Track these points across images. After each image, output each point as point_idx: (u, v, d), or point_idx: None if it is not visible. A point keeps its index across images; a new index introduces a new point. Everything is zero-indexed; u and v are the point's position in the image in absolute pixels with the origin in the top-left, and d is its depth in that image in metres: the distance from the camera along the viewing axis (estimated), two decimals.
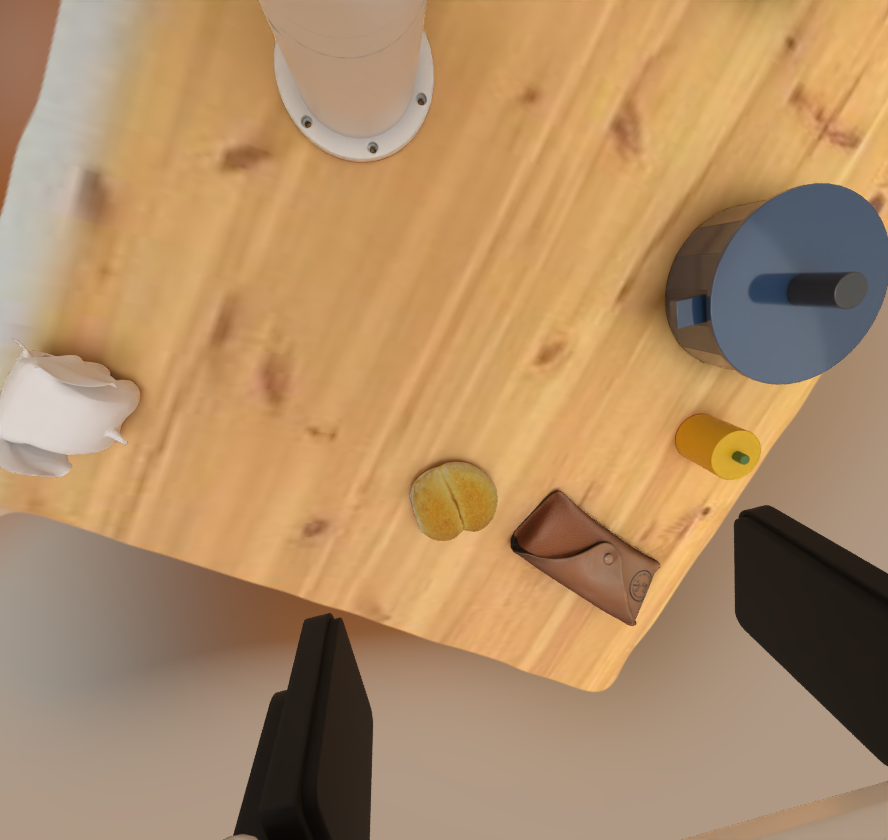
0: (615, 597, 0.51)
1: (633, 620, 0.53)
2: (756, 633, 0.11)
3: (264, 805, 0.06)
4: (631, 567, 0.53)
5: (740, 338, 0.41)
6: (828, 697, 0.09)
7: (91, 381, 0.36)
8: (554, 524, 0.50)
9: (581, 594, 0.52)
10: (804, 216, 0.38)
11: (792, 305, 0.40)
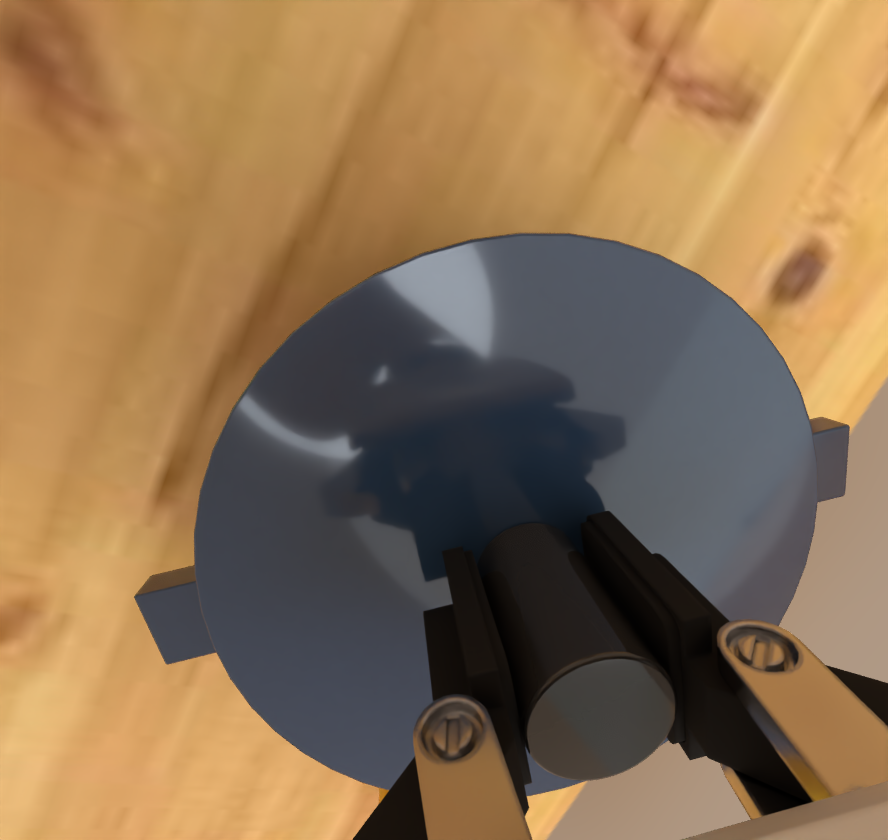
0: None
1: None
2: None
3: (472, 671, 0.08)
4: None
5: (345, 708, 0.13)
6: None
7: None
8: None
9: None
10: (493, 349, 0.11)
11: None
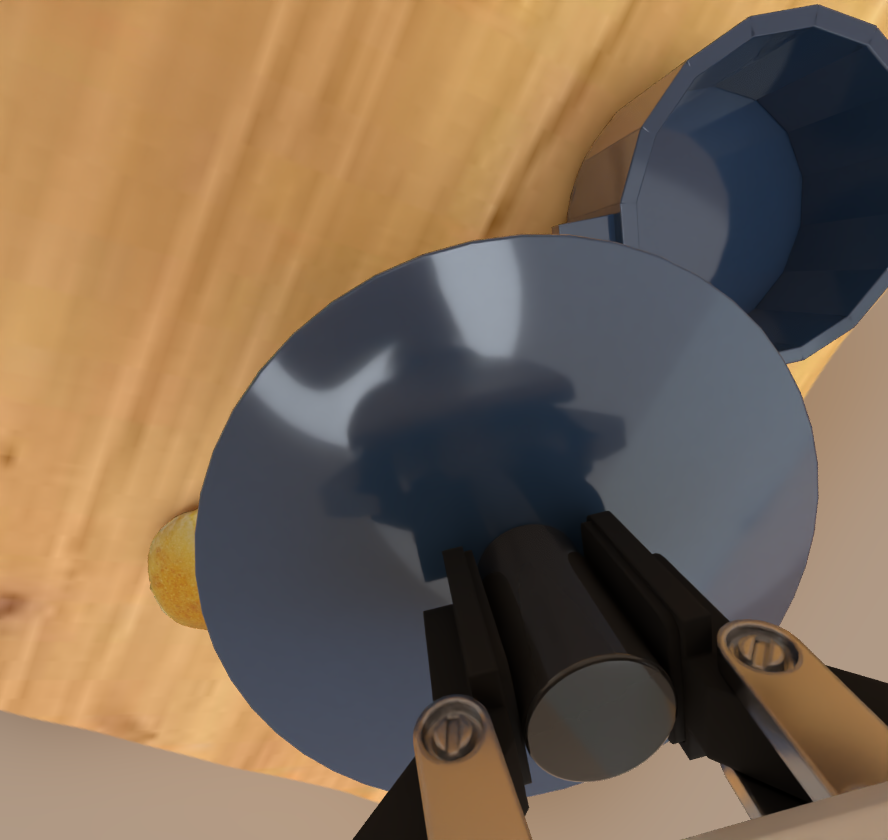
0: None
1: None
2: None
3: (472, 671, 0.08)
4: None
5: (346, 710, 0.13)
6: None
7: None
8: None
9: None
10: (494, 351, 0.11)
11: None
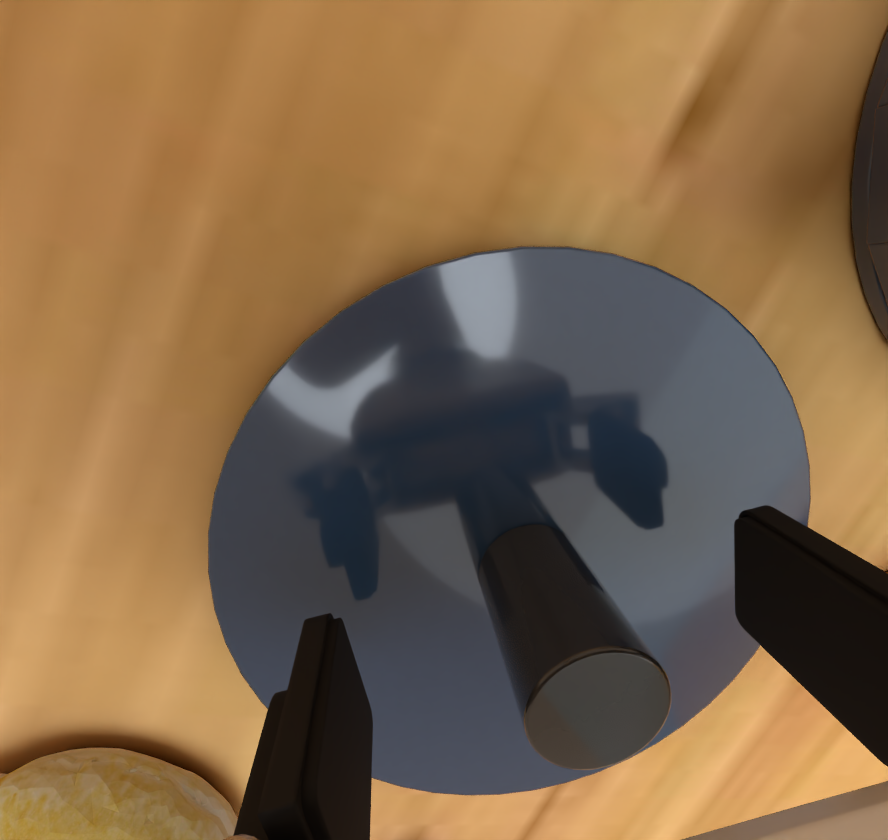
0: None
1: None
2: (756, 633, 0.11)
3: (265, 805, 0.06)
4: None
5: None
6: (828, 697, 0.09)
7: None
8: None
9: None
10: (495, 357, 0.11)
11: None
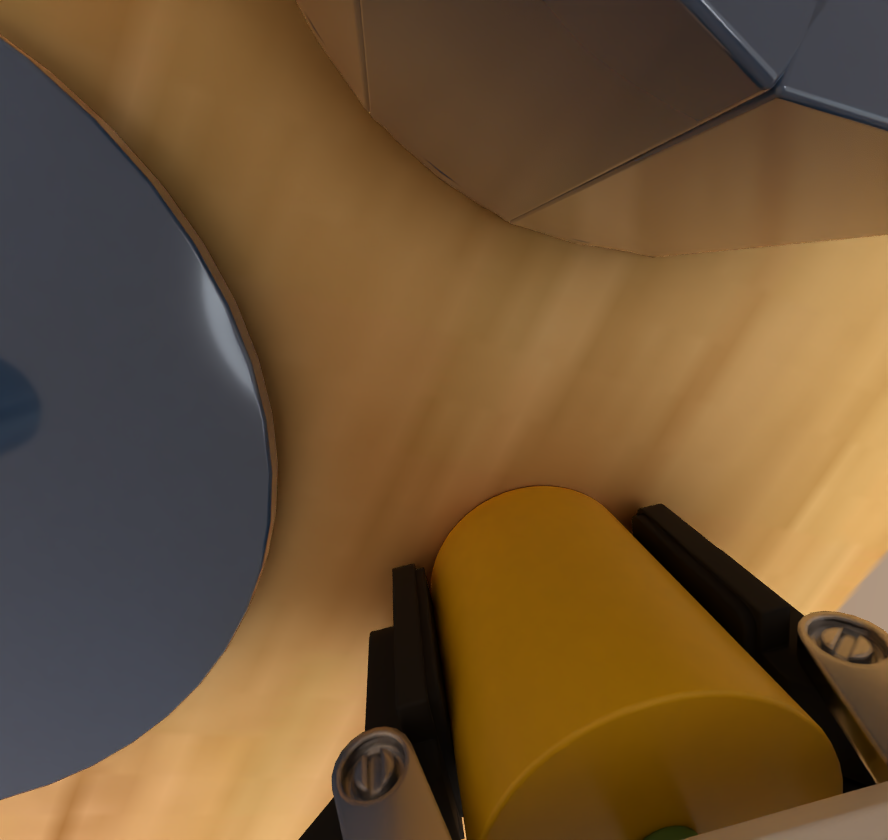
0: None
1: None
2: None
3: (400, 702, 0.07)
4: None
5: None
6: None
7: None
8: None
9: None
10: None
11: None
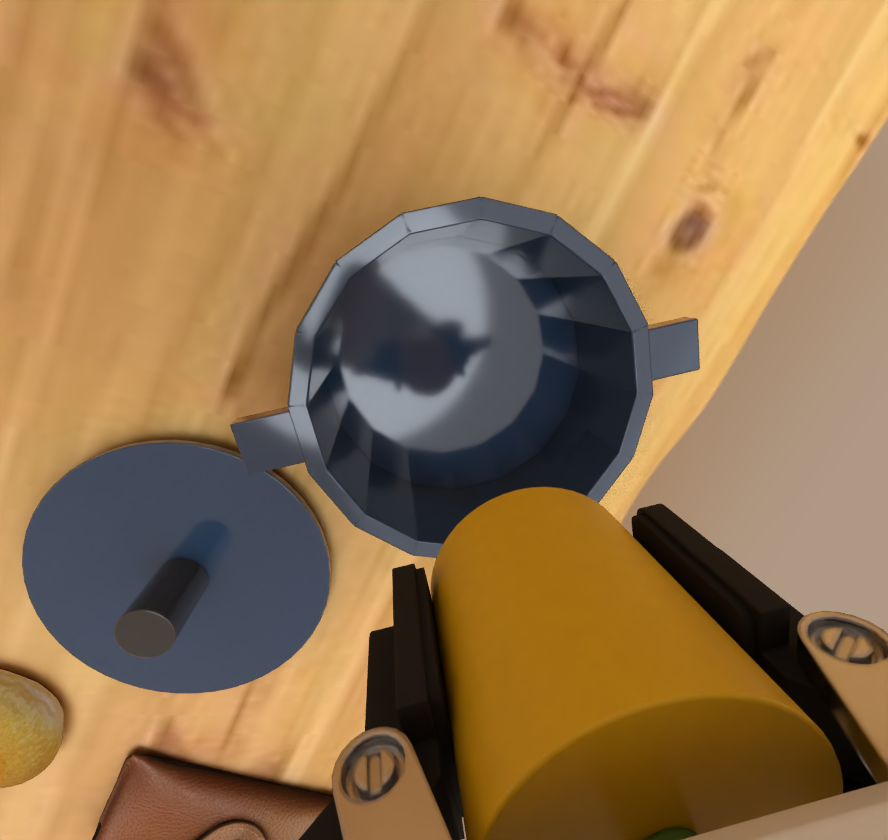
0: None
1: None
2: None
3: (400, 702, 0.07)
4: (297, 839, 0.32)
5: (105, 644, 0.28)
6: None
7: None
8: (124, 819, 0.30)
9: None
10: (144, 487, 0.25)
11: None
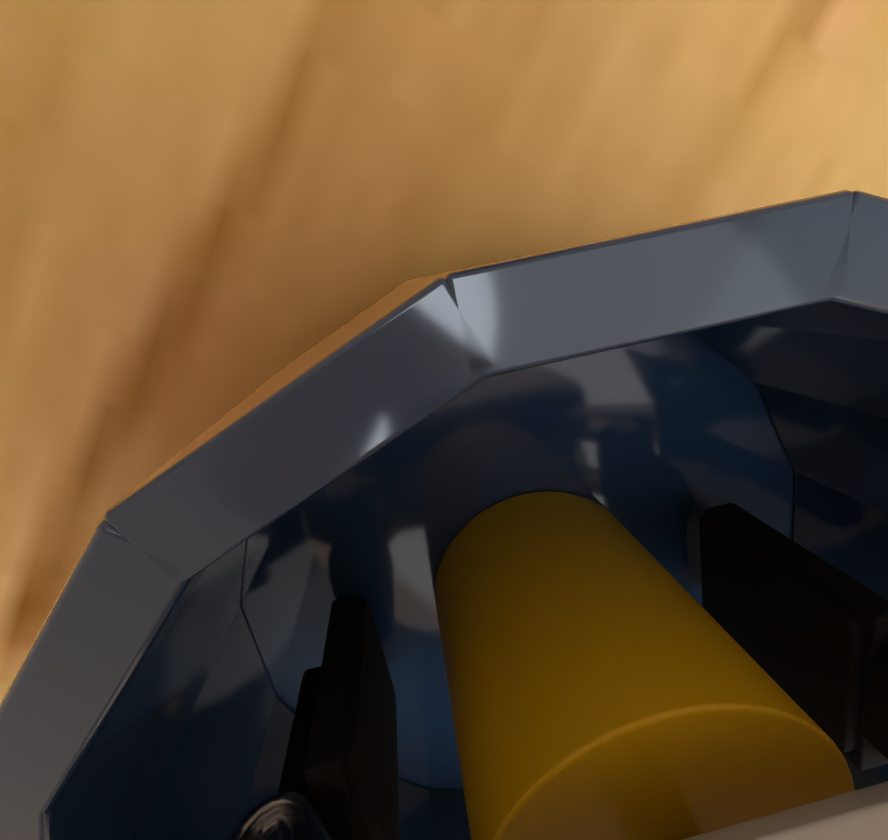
0: None
1: None
2: None
3: (310, 764, 0.07)
4: None
5: None
6: (783, 687, 0.09)
7: None
8: None
9: None
10: None
11: None
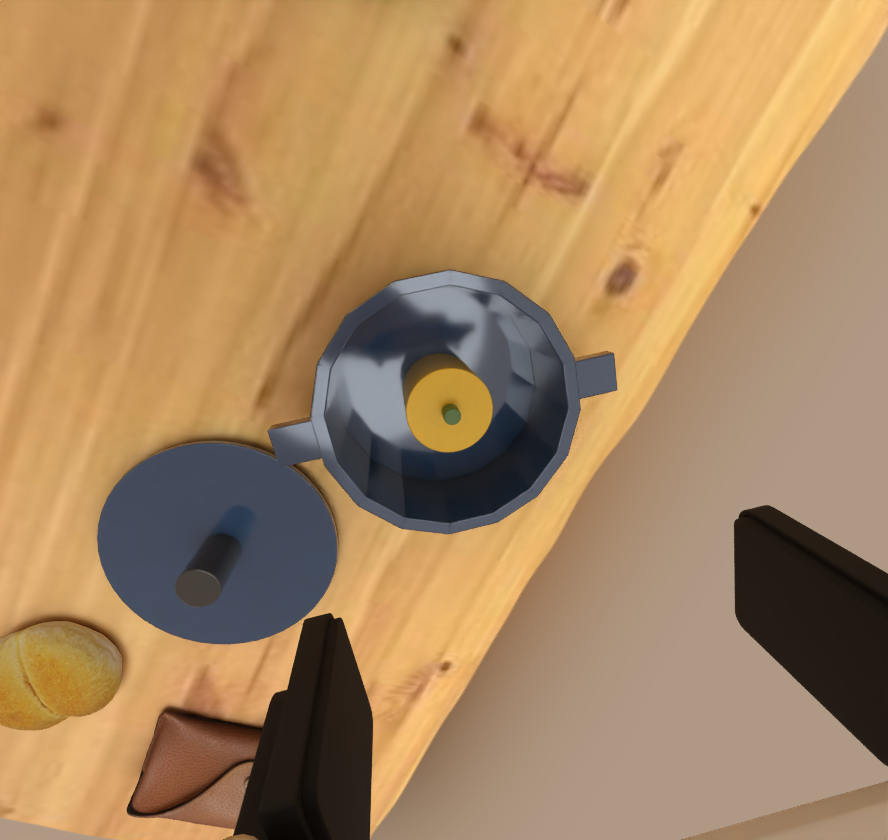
0: None
1: None
2: (756, 633, 0.11)
3: (265, 805, 0.06)
4: None
5: (159, 602, 0.35)
6: (828, 697, 0.09)
7: None
8: (161, 762, 0.37)
9: None
10: (193, 477, 0.32)
11: None
